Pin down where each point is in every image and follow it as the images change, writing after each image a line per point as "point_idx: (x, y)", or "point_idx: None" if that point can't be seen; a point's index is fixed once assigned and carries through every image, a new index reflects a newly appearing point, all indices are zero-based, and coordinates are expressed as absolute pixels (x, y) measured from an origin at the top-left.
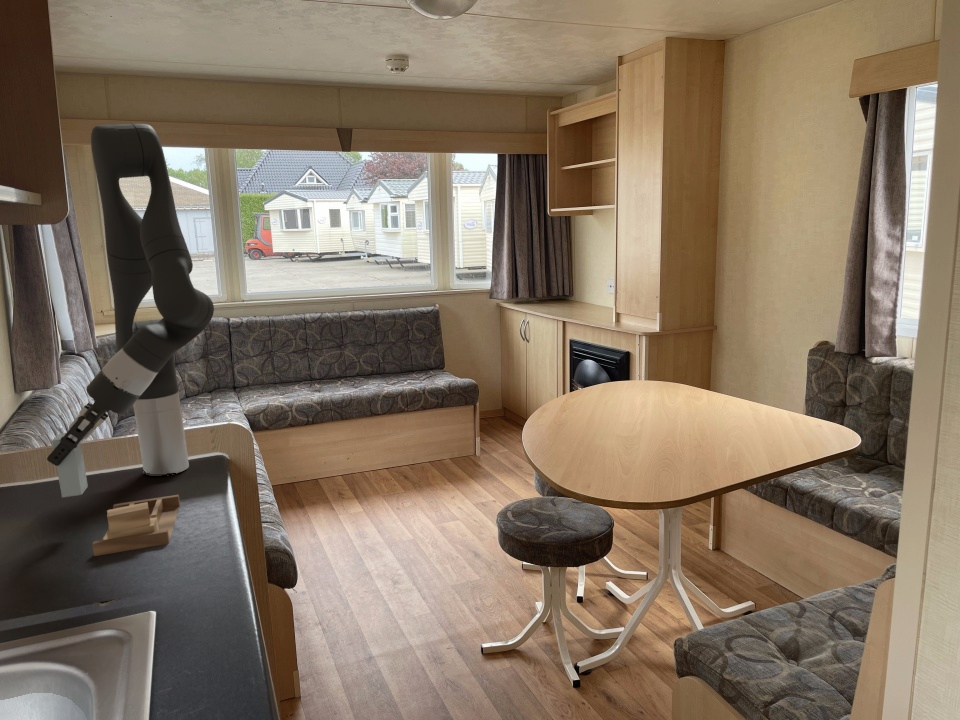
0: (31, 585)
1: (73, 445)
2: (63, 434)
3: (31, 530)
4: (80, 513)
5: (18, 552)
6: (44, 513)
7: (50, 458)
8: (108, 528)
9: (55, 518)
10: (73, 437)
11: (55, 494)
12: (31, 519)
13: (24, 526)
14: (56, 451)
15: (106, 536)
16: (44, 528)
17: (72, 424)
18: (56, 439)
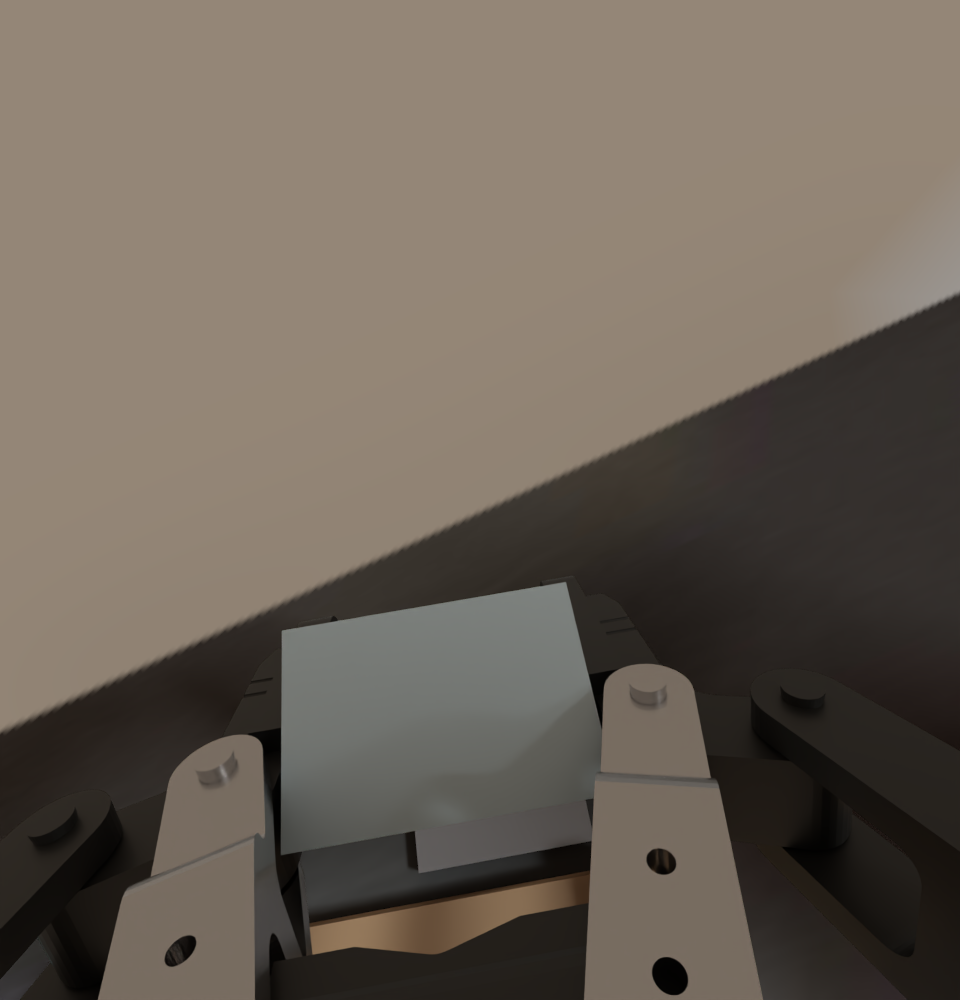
0: (88, 755)
1: (48, 972)
2: (515, 647)
3: (585, 531)
4: (735, 645)
5: (396, 578)
6: (747, 501)
7: (273, 657)
8: (468, 897)
9: (691, 565)
10: (349, 841)
11: (949, 451)
12: (692, 483)
13: (628, 490)
14: (243, 707)
15: (371, 928)
16: (596, 569)
17: (125, 961)
18: (303, 664)
